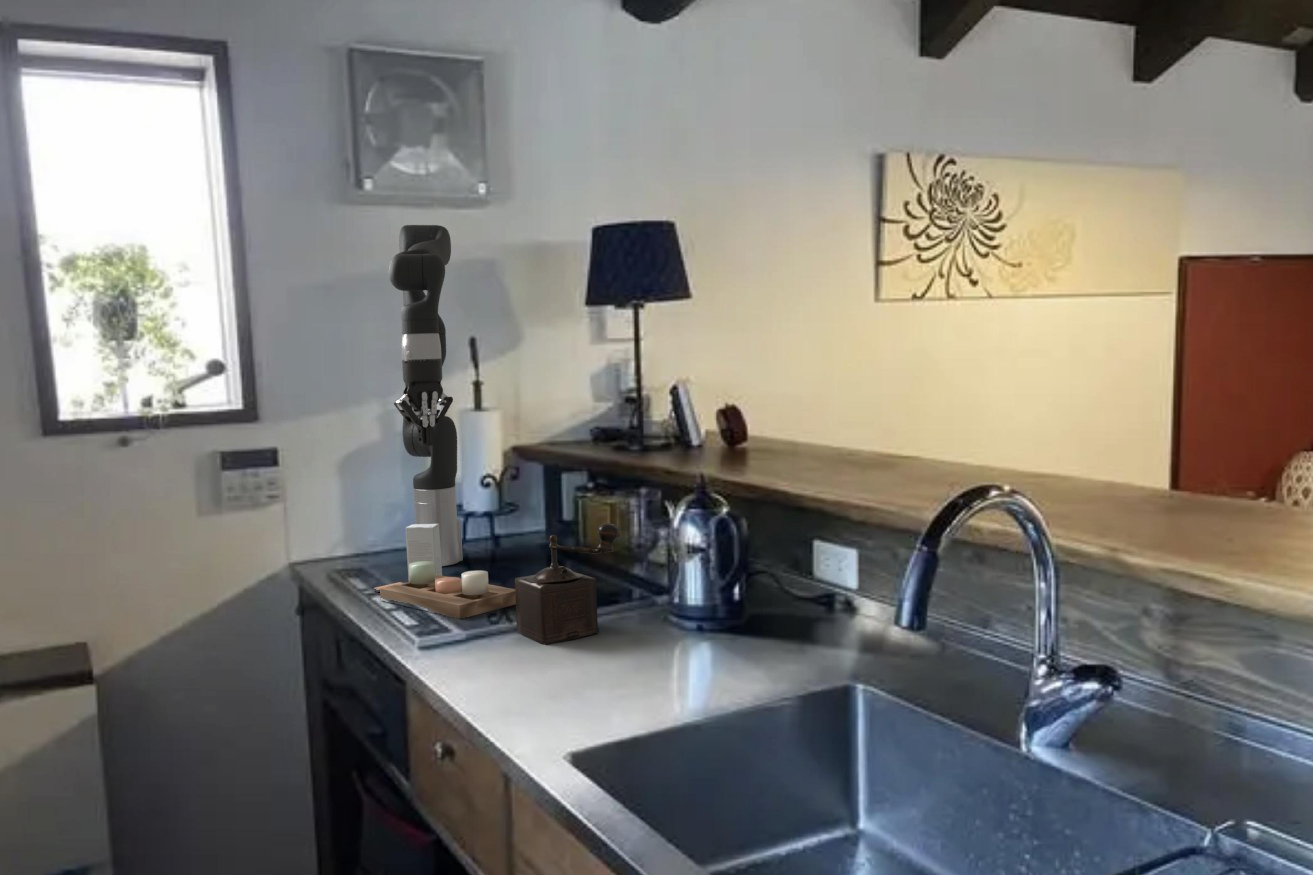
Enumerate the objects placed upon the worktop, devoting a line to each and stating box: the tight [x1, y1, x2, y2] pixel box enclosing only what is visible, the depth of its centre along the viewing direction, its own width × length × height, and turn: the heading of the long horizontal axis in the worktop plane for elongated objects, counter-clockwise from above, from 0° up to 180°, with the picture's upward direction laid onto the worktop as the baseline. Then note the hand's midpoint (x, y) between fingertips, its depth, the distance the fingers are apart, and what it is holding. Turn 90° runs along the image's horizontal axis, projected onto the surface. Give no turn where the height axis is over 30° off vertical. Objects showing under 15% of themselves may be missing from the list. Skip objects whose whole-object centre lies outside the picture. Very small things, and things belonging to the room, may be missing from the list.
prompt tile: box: [373, 581, 403, 590], centre depth 211 cm, size 6×6×1 cm
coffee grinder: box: [514, 522, 621, 646], centre depth 176 cm, size 16×11×18 cm
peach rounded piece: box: [435, 576, 462, 594], centre depth 200 cm, size 5×5×4 cm
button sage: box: [409, 561, 435, 584], centre depth 205 cm, size 5×5×4 cm
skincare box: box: [404, 523, 443, 582], centre depth 217 cm, size 6×4×12 cm
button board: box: [379, 574, 516, 619], centre depth 200 cm, size 14×24×2 cm, turn 49°
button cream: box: [460, 570, 489, 595], centre depth 194 cm, size 5×5×4 cm
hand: (426, 445), depth 207 cm, fingers closed
